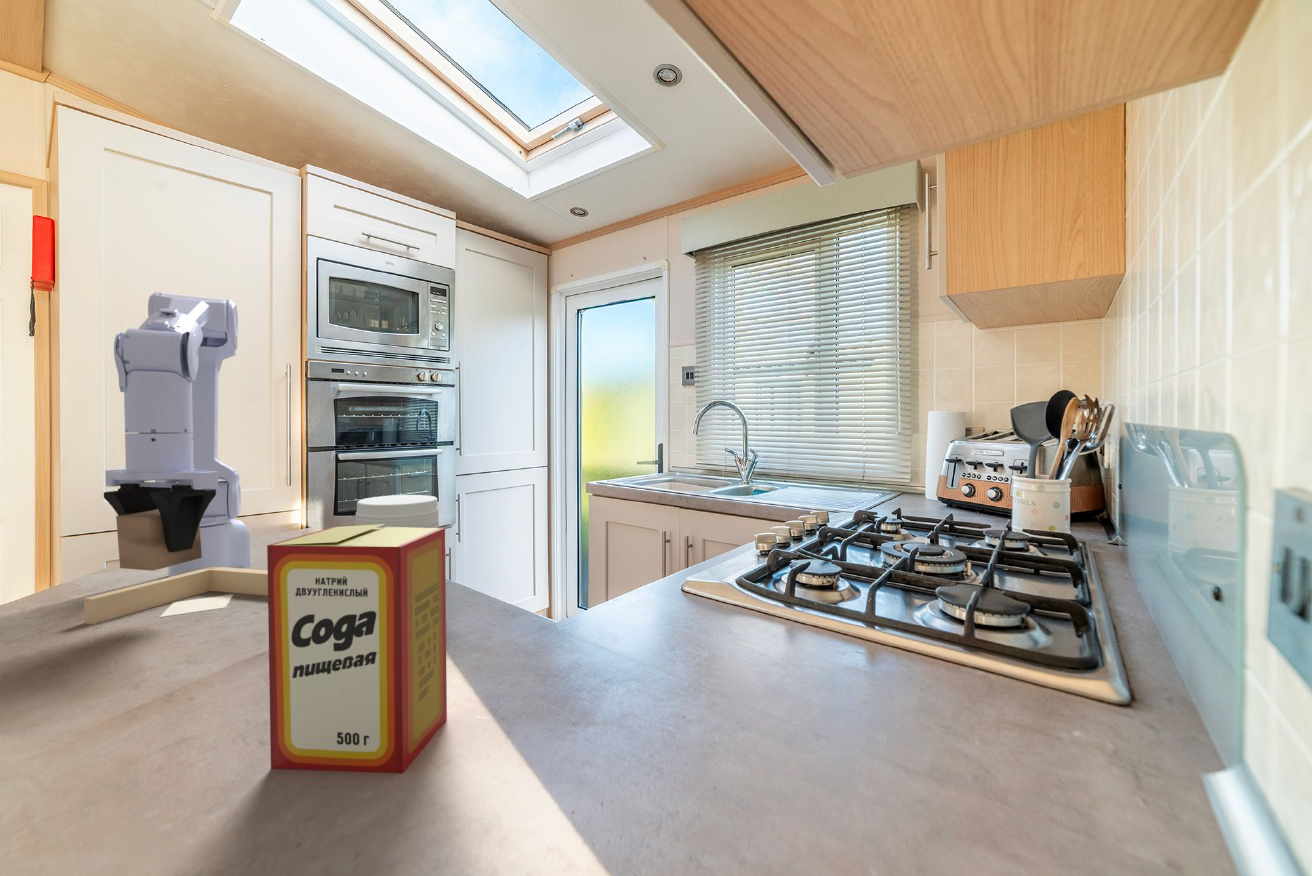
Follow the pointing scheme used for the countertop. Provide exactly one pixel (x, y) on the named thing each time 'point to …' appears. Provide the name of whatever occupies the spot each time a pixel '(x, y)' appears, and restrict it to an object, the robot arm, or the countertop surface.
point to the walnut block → (149, 543)
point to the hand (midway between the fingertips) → (162, 549)
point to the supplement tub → (398, 511)
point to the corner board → (177, 593)
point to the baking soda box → (356, 647)
